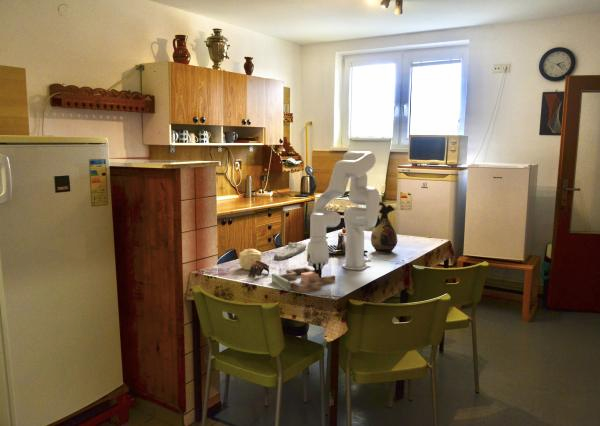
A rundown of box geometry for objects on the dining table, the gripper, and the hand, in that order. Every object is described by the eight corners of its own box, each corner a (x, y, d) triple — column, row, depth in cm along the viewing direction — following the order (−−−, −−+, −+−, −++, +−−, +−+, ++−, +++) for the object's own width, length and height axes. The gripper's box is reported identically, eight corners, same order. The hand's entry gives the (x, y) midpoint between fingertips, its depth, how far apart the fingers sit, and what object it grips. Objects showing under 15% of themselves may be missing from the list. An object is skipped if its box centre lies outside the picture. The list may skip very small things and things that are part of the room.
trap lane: (311, 272, 248) (311, 264, 247) (342, 285, 225) (342, 276, 224) (266, 279, 235) (266, 271, 235) (293, 294, 212) (293, 285, 212)
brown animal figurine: (246, 274, 246) (253, 259, 247) (263, 282, 247) (270, 267, 249) (249, 274, 234) (256, 258, 236) (267, 282, 236) (274, 266, 237)
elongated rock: (269, 262, 275) (285, 264, 271) (269, 253, 274) (285, 255, 270) (294, 246, 307) (309, 248, 303) (295, 238, 305) (309, 240, 302)
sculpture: (240, 272, 248) (239, 251, 246) (238, 266, 259) (237, 246, 258) (262, 271, 250) (262, 250, 248) (260, 265, 261) (259, 245, 260)
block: (311, 279, 235) (311, 271, 235) (318, 282, 230) (318, 274, 230) (300, 281, 232) (300, 273, 231) (308, 284, 227) (308, 276, 226)
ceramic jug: (395, 249, 298) (396, 200, 294) (398, 255, 283) (399, 203, 279) (367, 249, 300) (368, 200, 295) (368, 255, 285) (369, 203, 280)
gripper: (327, 236, 238) (326, 273, 241) (300, 239, 231) (300, 277, 233) (335, 238, 232) (335, 276, 234) (308, 242, 224) (308, 281, 227)
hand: (318, 276), depth 234 cm, fingers closed
